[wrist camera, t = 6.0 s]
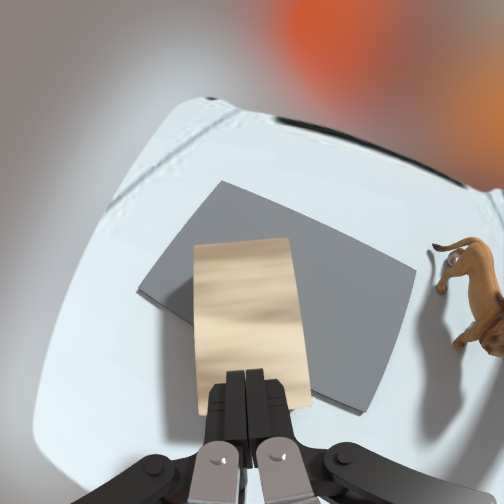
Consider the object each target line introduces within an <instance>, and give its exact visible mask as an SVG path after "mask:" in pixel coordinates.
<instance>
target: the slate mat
mask: <svg viewBox="0 0 504 504" xmlns="http://www.w3.org/2000/svg"><path fill="white" fill-rule="evenodd" d="M286 237H288V239H289V244H290V250H291V256H292V262H293V268H294V274H295V280H296V286H297V293H298V299H299V306H300V312H301V319H302V326H303V333H304V340H305V348H306V355H307V363H308V371H309V379H310V388H311V390H313V391H316V392H318V393H320V394H322V395H324V396H327V397H329V398H331V399H333V400H336V401H338V402H340V403H343V404H345V405H348V406H350V407H352V408H355V409H357V410H360V411H362V412H366V411H367V409H368V407H369V405H370V403H371V401H372V399H373V397H374V395H375V392H376V390H377V388H378V386H379V383H380V381H381V379H382V376H383V374H384V371H385V369H386V367H387V364H388V361H389V359H390V356H391V354H392V351H393V348H394V346H395V343H396V340H397V337H398V334H399V331H400V328H401V325H402V322H403V319H404V315H405V312H406V309H407V305H408V302H409V298H410V295H411V291H412V287H413V283H414V279H415V275H416V270H414V269H413V268H411V267H409V266H407V265H405V264H403V263H401V262H399V261H398V260H396V259H394V258H392V257H390V256H388V255H386V254H384V253H382V252H380V251H378V250H376V249H374V248H372V247H370V246H368V245H366V244H364V243H362V242H360V241H358V240H356V239H354V238H352V237H350V236H348V235H346V234H344V233H342V232H339V231H337V230H335V229H333V228H331V227H329V226H327V225H325V224H322V223H320V222H318V221H316V220H314V219H312V218H309V217H307V216H305V215H303V214H300V213H298V212H296V211H294V210H291V209H289V208H287V207H285V206H282V205H280V204H278V203H275V202H273V201H271V200H268V199H266V198H264V197H261V196H259V195H256V194H254V193H252V192H249V191H247V190H244V189H242V188H239V187H237V186H234V185H232V184H229V183H227V182H224V181H221V182H220V183H219V184H218V185H217V187H216V188H215V189H214V190H213V191H212V192H211V194H210V195H209V196H208V197H207V198H206V200H205V201H204V202H203V203H202V204H201V206H200V207H199V208H198V209H197V211H196V212H195V213H194V214H193V216H192V217H191V218H190V219H189V221H188V222H187V223H186V224H185V226H184V227H183V228H182V229H181V231H180V232H179V233H178V234H177V236H176V237H175V238H174V240H173V241H172V242H171V244H170V245H169V246H168V247H167V249H166V250H165V251H164V253H163V254H162V255H161V257H160V258H159V259H158V261H157V262H156V263H155V265H154V266H153V267H152V269H151V270H150V272H149V273H148V274H147V276H146V277H145V278H144V280H143V281H142V283H141V284H140V285H139V287H138V288H139V289H140V290H141V291H143V292H144V293H146V294H147V295H148V296H150V297H151V298H153V299H154V300H156V301H157V302H159V303H160V304H162V305H163V306H164V307H166V308H167V309H169V310H170V311H172V312H173V313H175V314H177V315H178V316H180V317H181V318H183V319H184V320H186V321H187V322H189V323H191V324H192V325H194V246H195V245H205V244H216V243H228V242H239V241H250V240H262V239H274V238H286Z"/></svg>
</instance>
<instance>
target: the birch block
mask: <svg viewBox="0 0 504 504" xmlns="http://www.w3.org/2000/svg"><path fill="white" fill-rule="evenodd" d="M194 339H195V364H196V382H197V397H198V410H199V415H207V407H208V398H209V392H210V390H211V389H212V387H213V386H214V384H218V383H226V372H227V371H235V370H244V371H245V378H246V370H247V369H258V368H263V372H264V380H268V379H278V380H279V381H280V383H281V384H282V385H283V386H284V389H285V394H286V399H287V404H288V409H289V410H290V409H297V408H303V407H310V406H312V397H311V388H310V379H309V371H308V363H307V355H306V348H305V340H304V333H303V326H302V319H301V312H300V306H299V299H298V293H297V286H296V280H295V274H294V268H293V262H292V256H291V250H290V244H289V239H288V237H286V238H274V239H262V240H250V241H239V242H228V243H216V244H205V245H195V246H194Z"/></svg>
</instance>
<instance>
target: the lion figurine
mask: <svg viewBox="0 0 504 504" xmlns="http://www.w3.org/2000/svg"><path fill="white" fill-rule="evenodd" d="M466 245H469V246H468V247H467V248H466V249H465V250H464V249H462V248H459V247H463V246H466ZM432 246H433V248H434V249H435V250H436V251H440V252H444V251H450V250H453V249H456V250H454V251H453V252H451V253H450V254H449V255H448V263H449V265H451V266H453V267H451V268H448V269H446V271H445V273H444V275H443V277H442V278H441V280H440V281H439V283H438V285H437V290H438V292H439V293H440V294H442V293H445V292H446V291H447V286H446V283H447V281H448V280H449V278H451V277H459V276H463V275H466V274H467V275H469V288H468V298H469V304H470V308H471V311H472V314H473V316H474V319H475V320H476V321H474V322H472V323H471V324H470V325H469V327H468V330H467V331H465V332H464V333H461V334H460V335H459V336H458V337H457V338H456V340H455V343H454V347H455V348H456V349H457V350H461V349H462V348H463V347H464V344H463V343H464V342H472V341H476V340H479V342H480V344H481V346H482V348H483V349H485V351H487V352H488V354H489V355H492V356H496V357H501V358H503V359H504V297H503V296H502V294H501V291H500V288H499V286H498V283H497V280H496V276H495V271H494V261H493V255H492V252H491V250H490V249H489V247H488V246H487V245H486V244H485V243H484V242H483V241H482V240H480V239H478V238H475V237H469V238H465V239H463V240H461V241H459V242H457V243H454V244H452V245H450V246H440V245H437V244H432ZM457 248H458V249H457ZM456 257H457V258H459V259H458V260H457V262H456V259H455V258H456Z"/></svg>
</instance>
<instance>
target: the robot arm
mask: <svg viewBox="0 0 504 504" xmlns="http://www.w3.org/2000/svg"><path fill="white" fill-rule="evenodd" d="M252 457H253V462H254V467H255V468H259V474H260V480H261V486H262V491H263V496H264V501H265V504H321V503H320V501H319V499H318V497H317V496H319V497H321V498H322V499H323V500H325V501H327V502H329V503H330V504H497V502H496V499H495V498H494V496H493V495H491V494H489V493H485V492H481V491H477V490H473V489H469V488H466V487H462V486H459V485H455V484H452V483H449V482H446V481H443V480H440V479H437V478H434V477H431V476H429V475H426V474H423V473H421V472H418V471H415V470H413V469H410V468H408V467H405V466H403V465H401V464H398V463H396V462H394V461H391V460H389V459H387V458H385V457H383V456H380V455H378V454H376V453H374V452H372V451H370V450H368V449H366V448H364V447H362V446H360V445H358V444H355V443H352V442H342V443H338V444H336V445H334V446H332V447H331V448H330V449H314V448H309V447H306V446H304V445H302V444H300V443H299V442H298V441H297V440H296V438H295V436H294V433H293V428H292V423H291V418H290V413H289V409H288V404H287V399H286V394H285V389H284V386H283V385H282V384H281V383H280V381H279V380H278V379H268V380H264V372H263V368H258V369H247V370H246V378H245V371H244V370H235V371H227V372H226V383H218V384H214V386H213V387H212V389H211V390H210V392H209V398H208V407H207V418H206V428H205V439H204V444H203V446H202V447H201V448H200V449H199V451H198V452H197V453H195V454H194V455H192V456H189V457H186V458H181V459H177V460H172V461H171V460H170V459H169V458H168V457H166V456H163V455H159V454H153V455H148V456H146V457H144V458H142V459H141V460H139V461H138V462H136V463H135V464H134V465H132V466H131V467H129V468H128V469H126V470H125V471H123V472H122V473H120V474H119V475H117V476H116V477H114V478H113V479H111V480H110V481H108V482H106V483H105V484H103V485H102V486H100V487H98V488H97V489H95V490H94V491H92V492H90V493H88V494H87V495H85V496H83V497H82V498H80V499H78V500H76V501H75V502H73V503H71V504H246V498H247V469H251V468H253V463H252Z"/></svg>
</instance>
